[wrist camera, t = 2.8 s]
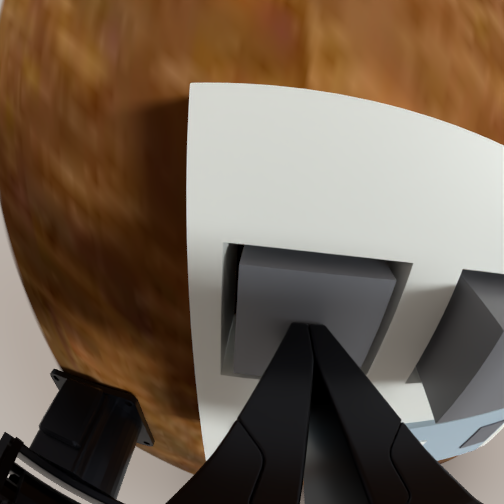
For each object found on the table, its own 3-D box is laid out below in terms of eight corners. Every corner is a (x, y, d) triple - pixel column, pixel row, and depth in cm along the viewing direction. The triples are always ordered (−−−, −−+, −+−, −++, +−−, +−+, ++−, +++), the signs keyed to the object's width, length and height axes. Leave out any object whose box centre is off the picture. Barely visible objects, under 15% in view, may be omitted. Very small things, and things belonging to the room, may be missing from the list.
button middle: (482, 354, 8) (509, 406, 6) (412, 358, 9) (435, 423, 6) (523, 276, 7) (566, 325, 4) (455, 268, 7) (504, 331, 4)
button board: (473, 413, 14) (486, 449, 11) (215, 420, 15) (205, 470, 12) (585, 199, 7) (626, 226, 4) (220, 92, 8) (183, 81, 5)
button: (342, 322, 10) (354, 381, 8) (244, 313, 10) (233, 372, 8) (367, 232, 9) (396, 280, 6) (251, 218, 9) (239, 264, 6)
